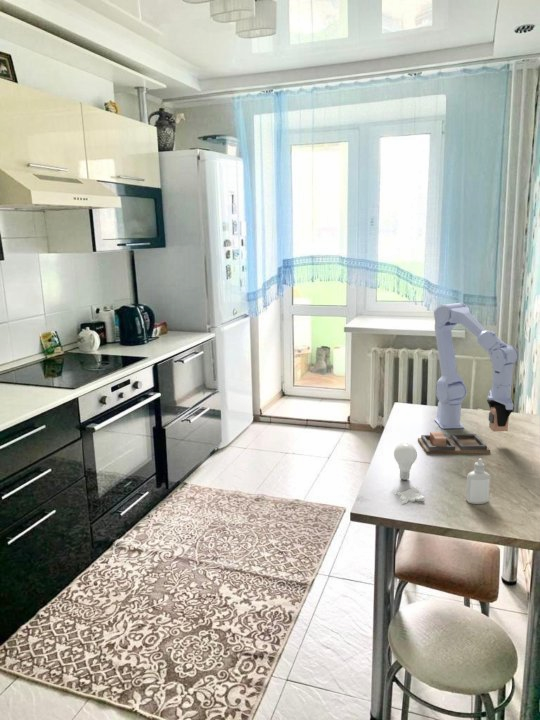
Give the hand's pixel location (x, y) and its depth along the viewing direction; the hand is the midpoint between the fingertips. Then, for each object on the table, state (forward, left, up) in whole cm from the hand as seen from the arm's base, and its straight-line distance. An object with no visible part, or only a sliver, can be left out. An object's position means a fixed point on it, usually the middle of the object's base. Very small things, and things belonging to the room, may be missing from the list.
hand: (498, 423), depth 174 cm
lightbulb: (+24, -36, -7) cm, 44 cm away
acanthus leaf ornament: (+34, -37, -8) cm, 51 cm away
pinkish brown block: (0, 0, -2) cm, 2 cm away
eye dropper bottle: (+37, -20, -7) cm, 43 cm away
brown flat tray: (+2, -15, -7) cm, 17 cm away
